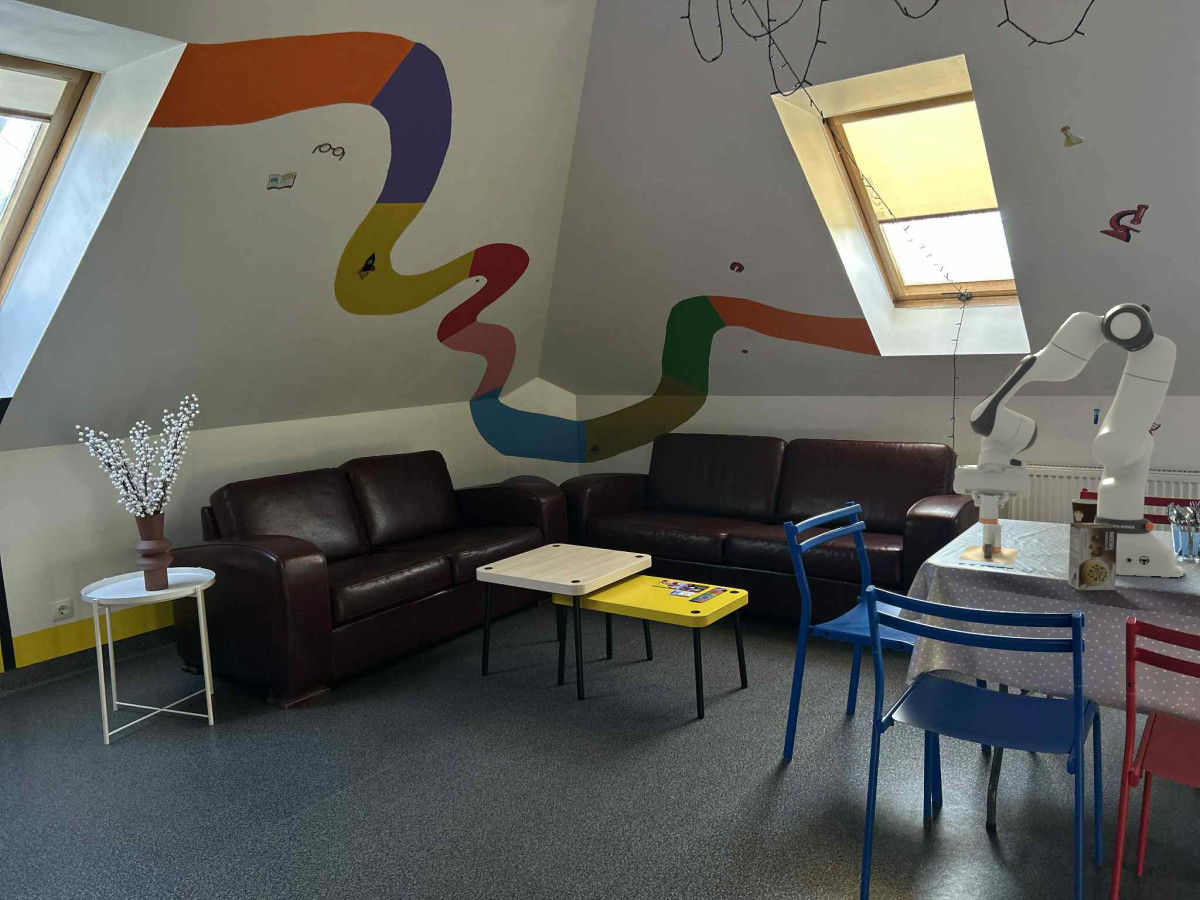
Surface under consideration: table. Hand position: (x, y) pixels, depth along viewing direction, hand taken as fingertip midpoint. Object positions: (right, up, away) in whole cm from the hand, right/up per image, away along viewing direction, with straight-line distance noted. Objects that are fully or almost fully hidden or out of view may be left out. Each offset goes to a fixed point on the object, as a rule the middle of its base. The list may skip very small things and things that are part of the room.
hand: (988, 506), depth 255 cm
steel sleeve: (0, -5, +1) cm, 5 cm away
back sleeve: (+5, -14, +11) cm, 18 cm away
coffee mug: (+50, -11, +42) cm, 66 cm away
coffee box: (+15, -19, -25) cm, 35 cm away
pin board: (+3, -16, +7) cm, 17 cm away
